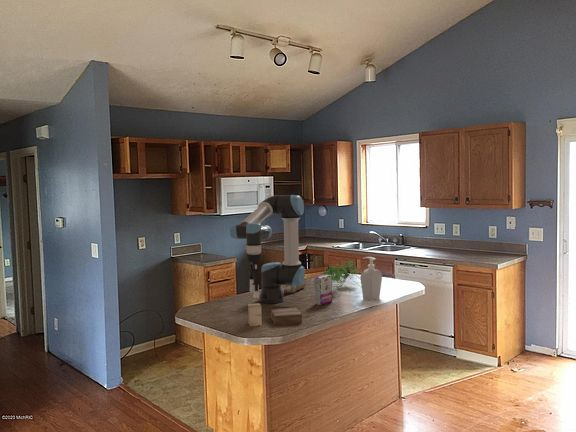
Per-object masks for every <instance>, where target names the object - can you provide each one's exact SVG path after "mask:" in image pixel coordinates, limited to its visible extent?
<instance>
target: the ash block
mask: <svg viewBox="0 0 576 432" xmlns="http://www.w3.org/2000/svg"><path fill="white" fill-rule="evenodd" d="M247 307H248V308H247V309H248V310H247V314H248V316H247V318H248V325H249V326H250V327H257V326H258V325H260V326H262V324H263V323H262V320H263V319H262V305H261V302H260V303H248V304H247Z"/></svg>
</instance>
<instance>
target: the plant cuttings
mask: <svg viewBox="0 0 576 432" xmlns="http://www.w3.org/2000/svg"><path fill="white" fill-rule="evenodd" d="M337 266H339V267H338V268H336V267H337ZM352 268H353V270H352ZM349 269H350V270H349ZM348 270H349V273H348ZM357 273H358V268H357V265H356V263H355V262H354V261H353V260H350V261H348V262H347V264H346V262H345V261H342V262H341V264H340V265H339V263H336V265H333V266H331V267H329V268H328V269H327V270H325V271H324V272H323V273H322V275H332V282H333V281H335V282H336V283H338V284H339V285H336V289H337V288H338V289H340V288H342V287H343V286H344V284H345V282H346V280H347V278H349V279H350V280H352V281H353V282H355V283H356V281H354V280H353V279H352V278H353V276H351V275H356V277H357V278H358V279H359V280H360V281H361V279H360V277H359V276H358V275H357ZM350 274H351V275H350ZM341 279H343V280H341ZM358 287H360V288H361V289H362V287H361V284H358ZM345 290H346V291H347V292H349V291H350V289H349V288H347V287H346V288H345Z"/></svg>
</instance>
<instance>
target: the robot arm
mask: <svg viewBox="0 0 576 432" xmlns="http://www.w3.org/2000/svg"><path fill="white" fill-rule="evenodd" d="M304 212H305V204H304V201H303V199H302V197H301V196H300V195H295V194H281V195H280V194H276V195H275V194H274V195H272V196H269V197H267V198H265V199H264V200H262V201H261V202H260V203H259V204H258V206H257V208H255V209H254V210H253V212H251V213H250V214H249V215H248V216H247V217H246V218H245V219H243V221H241V222H240V223H239V224H237V223H236V224H232V225H231V226H230V228H229V236H230V238H232V239H238V240H246V246H245V247H244V248H245V250H246V262H249V274H248V277H249V293H252V294H253V296H252V297H253V298H254V299H255V298H258V301H259V302H260V303H263V304H279V303H282V302H284V301H285V299H284V298H285V297H284V294H283V290H282V286H284V285H285V286H286V285H292V286H299V285H301V284H302V282H303V280H304V281H305V277H306V269H305V267H304V266H303V265H302V262H301V261H300V260H299V259H300V255H299V254H300V252H299V249H300V248H299V246H300V245H299V220H300V219H301V217H302V215H303V214H304ZM273 215H280V219H282V220H283V247H284V248H283V249H284V251H283V252H284V255H283V256H284V258H283V259H284V261H282V262H279V261H277V262H275V261H274V262H269V263H268V262H267V263H264V264H262V266H261V272H259V264H258V262H261V261H262V241H264V240H265V241H266V240H268V239H270V238H271V237H272V235H273V229H272V227H271V226H270V225H266V224H263V225H262V222H264V220H265V219H267V218H270V217H271V216H273ZM260 273H261V282H260ZM260 284H261V290H260Z"/></svg>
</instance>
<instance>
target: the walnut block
mask: <svg viewBox="0 0 576 432" xmlns="http://www.w3.org/2000/svg"><path fill="white" fill-rule="evenodd" d="M270 319H271V321H272V322H273V324H274V325H275V326H281V325H294V324H303V315H302V313H301V312H300V310H299V309H298V308H297V307H287V308H271V309H270Z"/></svg>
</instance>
